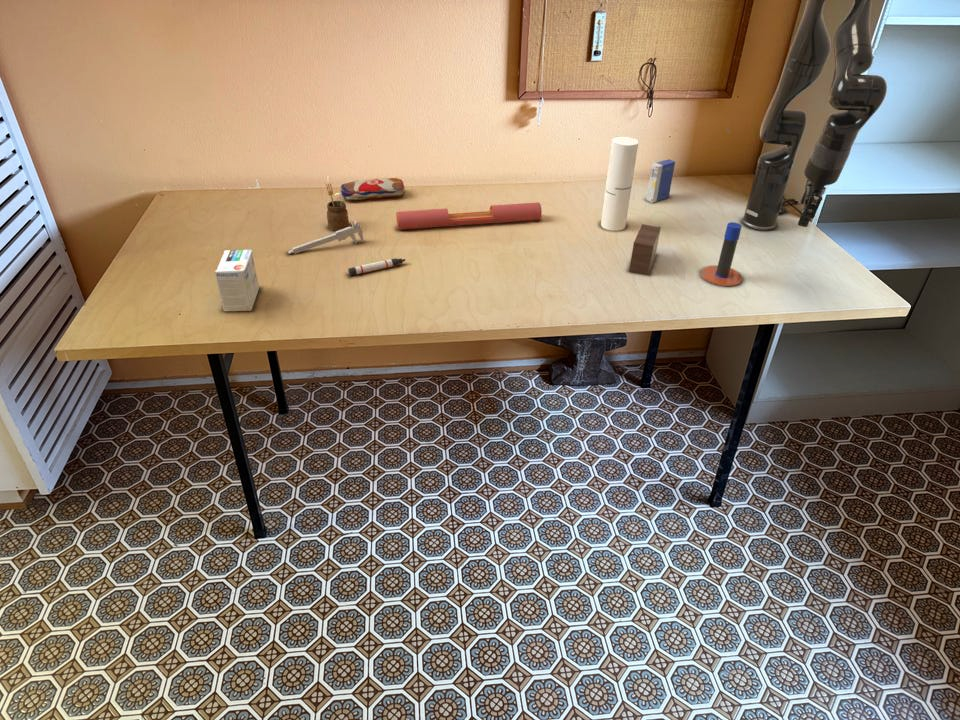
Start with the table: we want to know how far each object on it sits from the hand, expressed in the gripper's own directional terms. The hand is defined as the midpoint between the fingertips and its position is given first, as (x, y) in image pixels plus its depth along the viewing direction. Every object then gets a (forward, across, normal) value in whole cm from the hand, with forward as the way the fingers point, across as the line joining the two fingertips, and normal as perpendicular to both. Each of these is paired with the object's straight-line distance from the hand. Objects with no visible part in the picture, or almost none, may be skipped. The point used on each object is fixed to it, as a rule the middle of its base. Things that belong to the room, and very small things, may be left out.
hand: (803, 214), depth 172 cm
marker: (+13, -40, +98) cm, 107 cm away
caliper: (+16, -35, +116) cm, 123 cm away
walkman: (+30, +32, +37) cm, 58 cm away
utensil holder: (+19, -23, +120) cm, 123 cm away
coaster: (+16, -10, +14) cm, 24 cm away
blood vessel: (+22, -7, +86) cm, 89 cm away
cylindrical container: (+24, +8, +46) cm, 53 cm away
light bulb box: (+8, -65, +121) cm, 138 cm away
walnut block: (+17, -11, +35) cm, 40 cm away
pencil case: (+26, -1, +120) cm, 123 cm away
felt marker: (+9, -8, +15) cm, 19 cm away
